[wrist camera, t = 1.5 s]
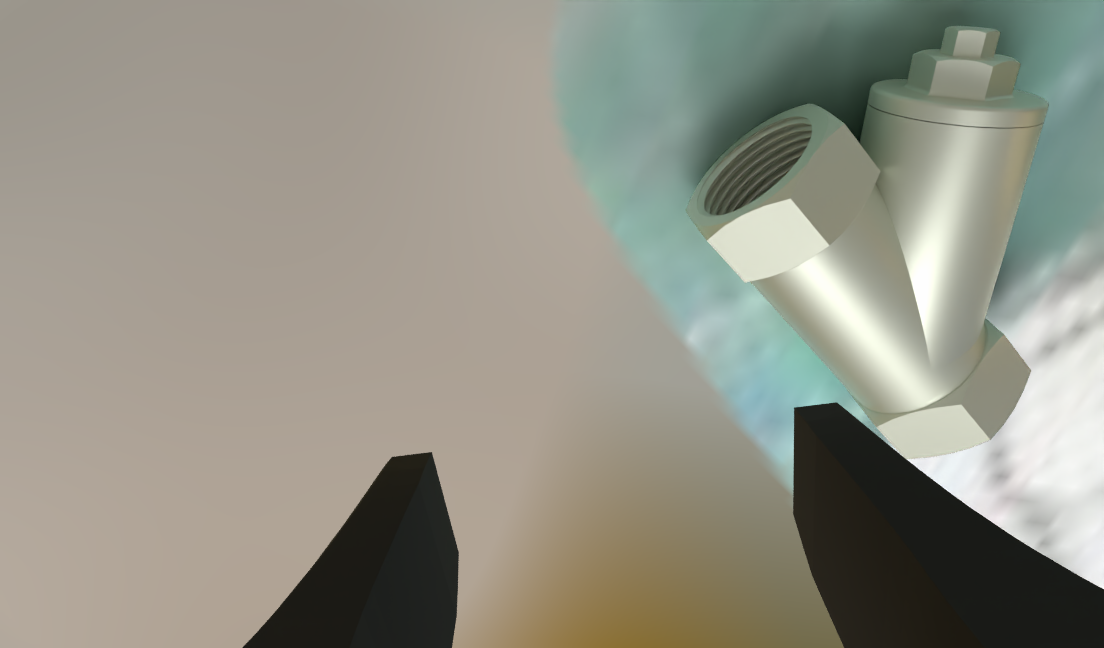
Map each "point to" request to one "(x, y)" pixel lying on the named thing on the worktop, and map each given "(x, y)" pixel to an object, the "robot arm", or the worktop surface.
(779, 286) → the pipe fitting
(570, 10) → the worktop surface
